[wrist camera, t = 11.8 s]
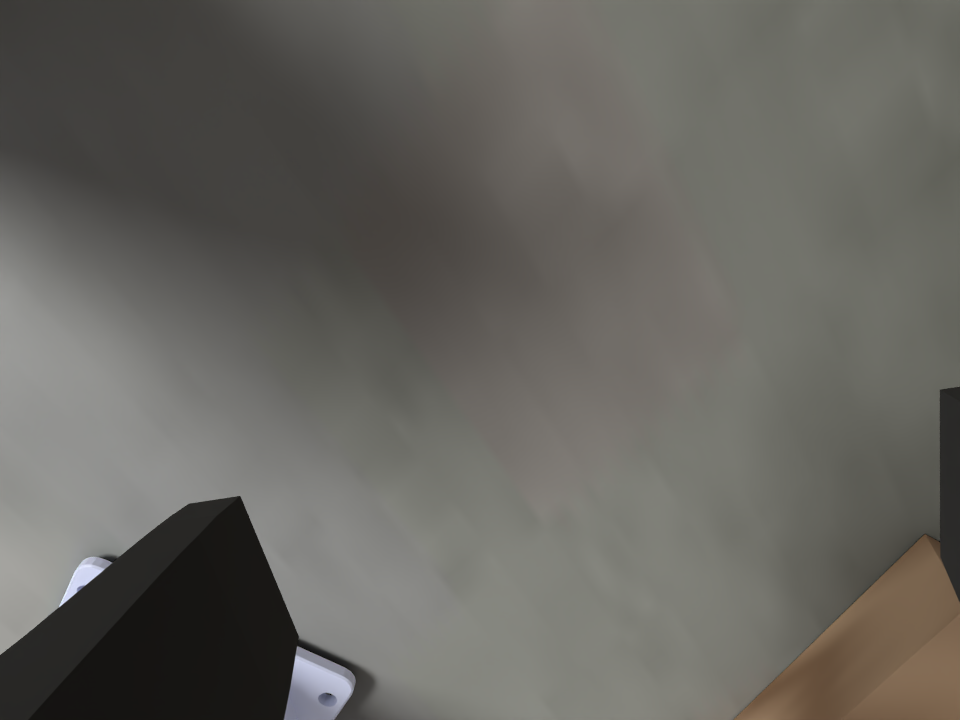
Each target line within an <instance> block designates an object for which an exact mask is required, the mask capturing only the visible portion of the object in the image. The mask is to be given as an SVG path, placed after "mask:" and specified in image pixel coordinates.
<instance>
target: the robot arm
mask: <svg viewBox="0 0 960 720" xmlns="http://www.w3.org/2000/svg"><path fill="white" fill-rule="evenodd" d="M940 558H941V560H942V562H943V565H944V567H945V570H946V572H947V574H948V577H949V579H950V581H951V584H952V586H953V588H954V591H955V593H956V595H957V598H958V600H959V602H960V387H955V388H948V389H942V390H940ZM298 638H299V636H298V634H297V631H296V629H295V626H294V624H293V622H292V619H291V617H290V614H289V612H288V610H287V607H286V605H285V602H284V600H283V598H282V595H281V593H280V590H279V588H278V586H277V583H276V581H275V578H274V576H273V574H272V571H271V569H270V566H269V564H268V562H267V559H266V557H265V554H264V552H263V550H262V547H261V545H260V542H259V540H258V538H257V535H256V533H255V530H254V528H253V526H252V523H251V521H250V518H249V516H248V514H247V511H246V509H245V506H244V504H243V502H242V499H241V497H240V496H237V497H231V498H224V499H218V500H211V501H204V502H198V503H191V504H188V505H187V506H185V507H184V508H182V509H181V510H179V511H178V512H176V513H175V514H173V515H172V516H170V517H169V518H168V519H166V520H165V521H164V522H162V523H161V524H160V525H158V526H157V527H156V528H155V529H153V530H152V531H151V532H149V533H148V534H147V535H146V536H144V537H143V538H142V539H141V540H140V541H138V542H137V543H136V544H135V545H133V546H132V547H131V548H130V549H129V550H127V551H126V552H125V553H124V554H122V555H121V556H120V557H119V558H118V559H116V560H115V561H114V562H113V563H112V562H110V561H108V560H105V559H102V558H99V557H89V558H86V559H84V560H83V561H82V562H81V564H80V565H79V566H78V568H77V569H76V571H75V572H74V575H73V577H72V579H71V581H70V584H69V586H68V588H67V590H66V593H65V595H64V597H63V599H62V602H61V604H60V606H59V608H58V609H57V610H55V611H54V612H53V613H52V614H51V615H49V616H48V617H47V618H46V619H45V620H43V621H42V622H41V623H40V624H39V625H37V626H36V627H35V628H34V629H33V630H31V631H30V632H29V633H28V634H26V635H25V636H24V637H23V638H21V639H20V640H19V641H18V642H16V643H15V644H14V645H12V646H11V647H10V648H9V649H7V650H6V651H5V652H4V653H2V654H1V655H0V720H334V719H335V718H336V717H337V715H338V714H339V712H340V711H341V709H342V708H343V707H344V705H345V704H346V702H347V701H348V700H349V698H350V697H351V695H352V693H353V690H354V687H355V683H356V680H355V676H354V675H353V673H352V672H351V671H350V670H348V669H346V668H345V667H343V666H340V665H338V664H336V663H334V662H332V661H329V660H327V659H325V658H323V657H321V656H318V655H316V654H314V653H312V652H309V651H307V650H305V649H303V648H301V647H298V646H297V644H298ZM325 693H330V694H332V695H327V694H325Z"/></svg>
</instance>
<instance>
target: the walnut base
mask: <svg viewBox="0 0 960 720" xmlns="http://www.w3.org/2000/svg"><path fill="white" fill-rule="evenodd" d="M734 720H960V602H959V600H958V598H957V595H956V593H955V591H954V588H953V586H952V584H951V581H950V579H949V577H948V574H947V572H946V570H945V567H944V565H943V562H942V560H941V558H940V542H939V541H937V540H935V539H933V538H931V537H929V536H928V535H926V534H924V535H923V536H922V537H921V538H920V539H919V540H918V541H917V542H916V543H915V544H914V545H913V546H912V547H911V548H910V549H909V550H908V551H907V552H906V553H905V554H904V555H903V556H902V557H901V558H900V559H899V560H898V561H897V562H895V563H894V564H893V565H892V566H891V567H890V568H889V569H888V570H887V571H886V572H885V573H884V574H883V575H882V576H881V577H880V578H879V579H878V580H877V581H876V582H875V583H874V584H873V585H872V586H871V587H870V588H869V589H868V590H867V591H866V592H865V593H864V594H863V595H861V596H860V597H859V598H858V599H857V600H856V601H855V602H854V603H853V604H852V605H851V606H850V607H849V608H848V609H847V610H846V611H845V612H844V613H843V614H842V615H841V616H840V617H839V618H838V619H837V620H836V621H835V622H834V623H833V624H832V625H831V626H830V627H829V628H827V629H826V630H825V631H824V632H823V633H822V634H821V635H820V636H819V637H818V638H817V639H816V640H815V641H814V642H813V643H812V644H811V645H810V646H809V647H808V648H807V649H806V650H805V651H804V652H803V653H802V654H801V655H800V656H799V657H798V658H797V659H796V660H794V661H793V662H792V663H791V664H790V665H789V666H788V667H787V668H786V669H785V670H784V671H783V672H782V673H781V674H780V675H779V676H778V677H777V678H776V679H775V680H774V681H773V682H772V683H771V684H770V685H769V686H768V687H767V688H766V689H765V690H764V691H763V692H762V693H760V694H759V695H758V696H757V697H756V698H755V699H754V700H753V701H752V702H751V703H750V704H749V705H748V706H747V707H746V708H745V709H744V710H743V711H742V712H741V713H740V714H739V715H738V716H737V717H736V718H735V719H734Z"/></svg>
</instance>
